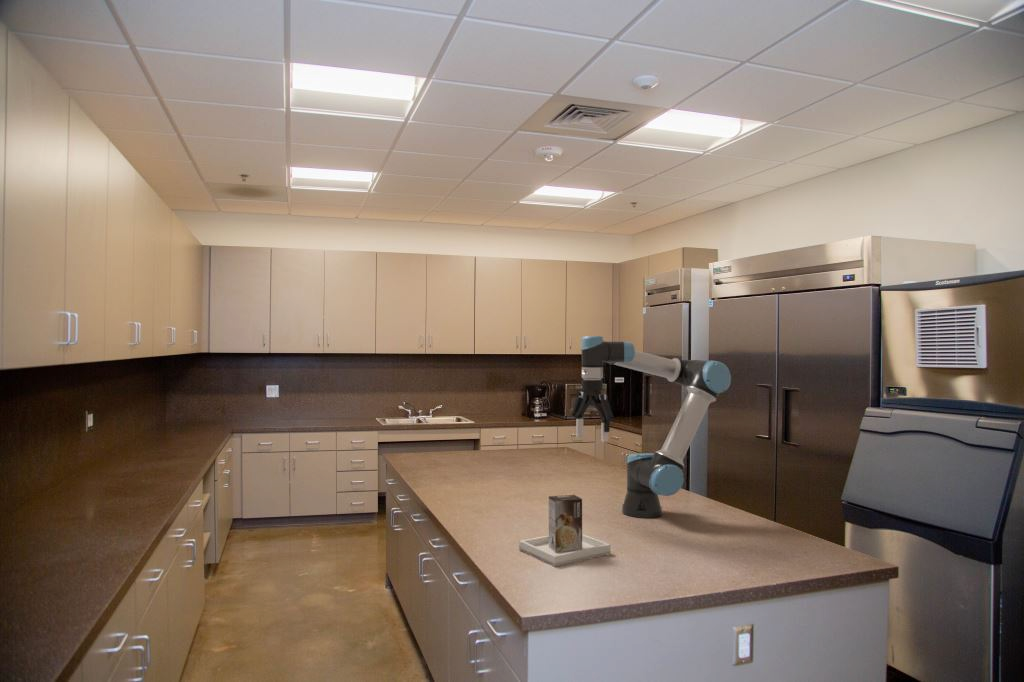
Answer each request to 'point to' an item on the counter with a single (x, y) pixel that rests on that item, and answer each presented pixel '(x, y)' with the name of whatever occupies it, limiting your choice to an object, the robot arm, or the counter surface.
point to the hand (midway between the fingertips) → (592, 439)
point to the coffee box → (565, 523)
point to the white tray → (545, 553)
